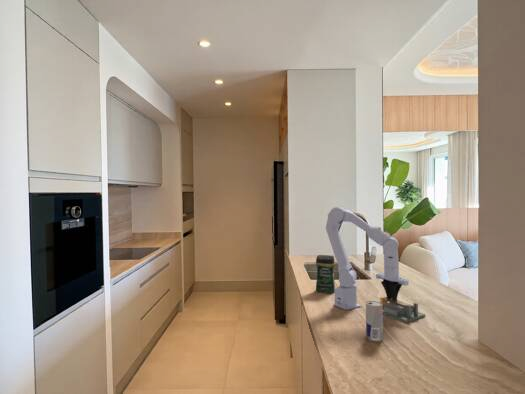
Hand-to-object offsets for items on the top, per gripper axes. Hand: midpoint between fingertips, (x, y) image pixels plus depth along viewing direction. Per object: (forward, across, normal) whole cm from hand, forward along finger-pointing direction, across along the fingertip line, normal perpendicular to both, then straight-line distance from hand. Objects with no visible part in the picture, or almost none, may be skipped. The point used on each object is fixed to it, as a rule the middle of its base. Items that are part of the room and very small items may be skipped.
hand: (391, 298), depth 133 cm
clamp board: (+5, -3, 0) cm, 6 cm away
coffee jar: (+5, +37, +4) cm, 38 cm away
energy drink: (+6, -14, +27) cm, 31 cm away
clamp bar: (+1, -4, 0) cm, 4 cm away
